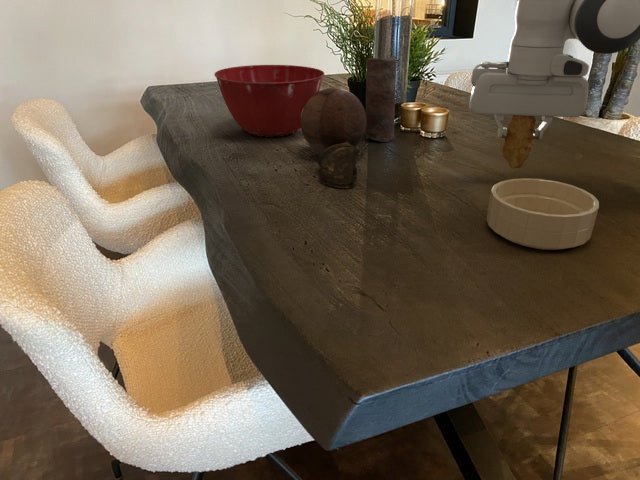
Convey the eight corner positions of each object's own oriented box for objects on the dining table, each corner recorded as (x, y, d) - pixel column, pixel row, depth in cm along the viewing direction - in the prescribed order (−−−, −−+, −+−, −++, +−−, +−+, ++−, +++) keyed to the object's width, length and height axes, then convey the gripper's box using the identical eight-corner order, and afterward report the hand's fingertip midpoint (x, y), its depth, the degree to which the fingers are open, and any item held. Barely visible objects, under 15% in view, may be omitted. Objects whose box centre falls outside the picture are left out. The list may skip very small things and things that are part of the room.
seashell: (366, 187, 95) (358, 153, 91) (321, 197, 96) (312, 164, 93) (361, 159, 109) (354, 129, 106) (322, 167, 110) (314, 138, 107)
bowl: (572, 213, 84) (581, 180, 82) (603, 256, 71) (614, 219, 68) (480, 208, 87) (485, 176, 84) (493, 249, 73) (500, 213, 70)
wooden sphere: (375, 149, 118) (377, 85, 111) (348, 168, 106) (350, 97, 99) (320, 141, 124) (319, 80, 117) (289, 158, 112) (287, 91, 105)
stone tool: (500, 169, 96) (514, 91, 89) (499, 165, 98) (512, 89, 91) (527, 171, 95) (543, 92, 88) (525, 167, 97) (540, 89, 90)
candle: (359, 140, 124) (362, 57, 115) (369, 133, 130) (372, 54, 121) (388, 144, 121) (393, 59, 112) (397, 137, 127) (402, 55, 118)
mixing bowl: (332, 119, 144) (332, 64, 136) (314, 148, 119) (313, 82, 112) (240, 116, 148) (235, 62, 141) (204, 143, 123) (196, 79, 116)
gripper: (475, 63, 86) (465, 140, 93) (599, 66, 83) (579, 145, 90) (471, 59, 92) (462, 131, 98) (587, 60, 89) (569, 135, 95)
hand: (519, 138), depth 94 cm, fingers closed on stone tool, 5 cm apart
